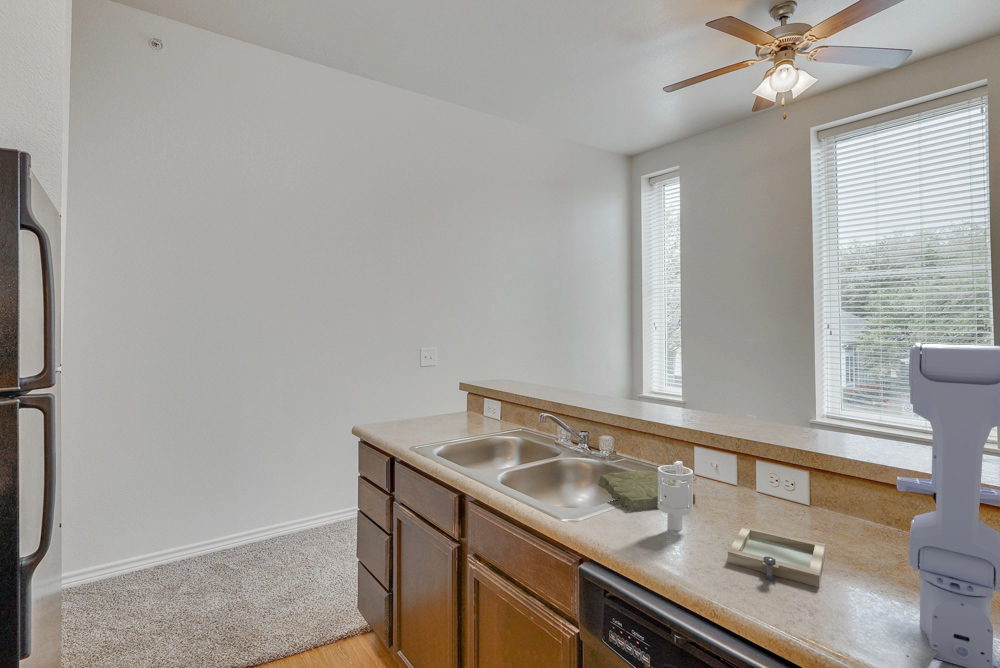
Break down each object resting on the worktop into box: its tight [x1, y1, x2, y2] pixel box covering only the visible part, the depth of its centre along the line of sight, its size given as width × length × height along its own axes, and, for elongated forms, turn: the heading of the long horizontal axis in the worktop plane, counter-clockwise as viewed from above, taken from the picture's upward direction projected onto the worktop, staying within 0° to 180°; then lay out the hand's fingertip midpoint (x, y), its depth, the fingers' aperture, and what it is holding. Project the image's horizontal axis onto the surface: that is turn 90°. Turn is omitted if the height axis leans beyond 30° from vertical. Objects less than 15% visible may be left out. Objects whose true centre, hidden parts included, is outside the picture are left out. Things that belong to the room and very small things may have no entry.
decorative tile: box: [597, 470, 696, 512], centre depth 129 cm, size 19×20×4 cm
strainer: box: [657, 460, 694, 532], centre depth 104 cm, size 7×7×15 cm
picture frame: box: [727, 525, 826, 588], centre depth 90 cm, size 15×14×2 cm
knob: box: [763, 557, 776, 582], centre depth 83 cm, size 2×2×5 cm
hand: (953, 541), depth 79 cm, fingers closed
